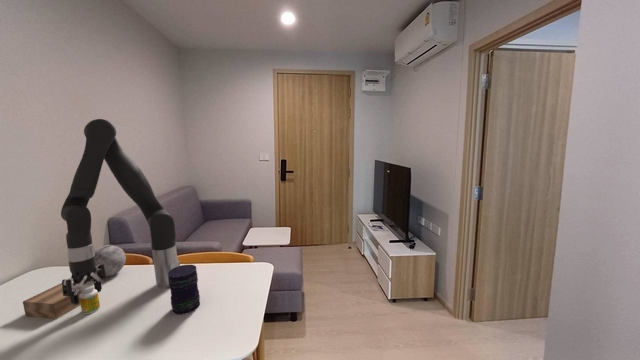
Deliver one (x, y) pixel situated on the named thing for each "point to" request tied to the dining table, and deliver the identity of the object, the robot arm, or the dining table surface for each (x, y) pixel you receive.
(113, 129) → the robot arm
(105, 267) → the decorative orb
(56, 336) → the dining table surface
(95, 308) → the supplement bottle
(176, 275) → the storage jar
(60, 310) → the walnut block
